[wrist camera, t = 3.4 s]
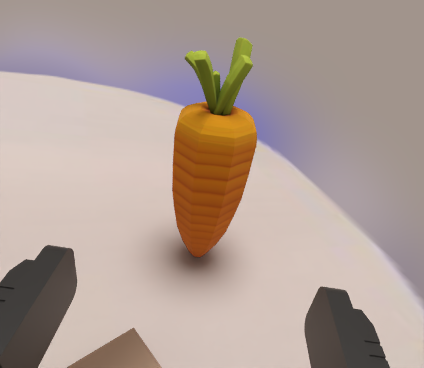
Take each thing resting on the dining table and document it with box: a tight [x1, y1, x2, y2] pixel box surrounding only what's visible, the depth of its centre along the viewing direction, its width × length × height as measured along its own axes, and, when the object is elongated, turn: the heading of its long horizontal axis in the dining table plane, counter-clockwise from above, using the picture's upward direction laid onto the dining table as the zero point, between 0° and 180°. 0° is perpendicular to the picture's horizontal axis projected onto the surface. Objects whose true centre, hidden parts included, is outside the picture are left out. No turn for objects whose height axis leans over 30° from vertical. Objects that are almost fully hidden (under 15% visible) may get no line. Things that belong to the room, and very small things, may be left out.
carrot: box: [172, 38, 257, 257], centre depth 20 cm, size 5×5×15 cm
